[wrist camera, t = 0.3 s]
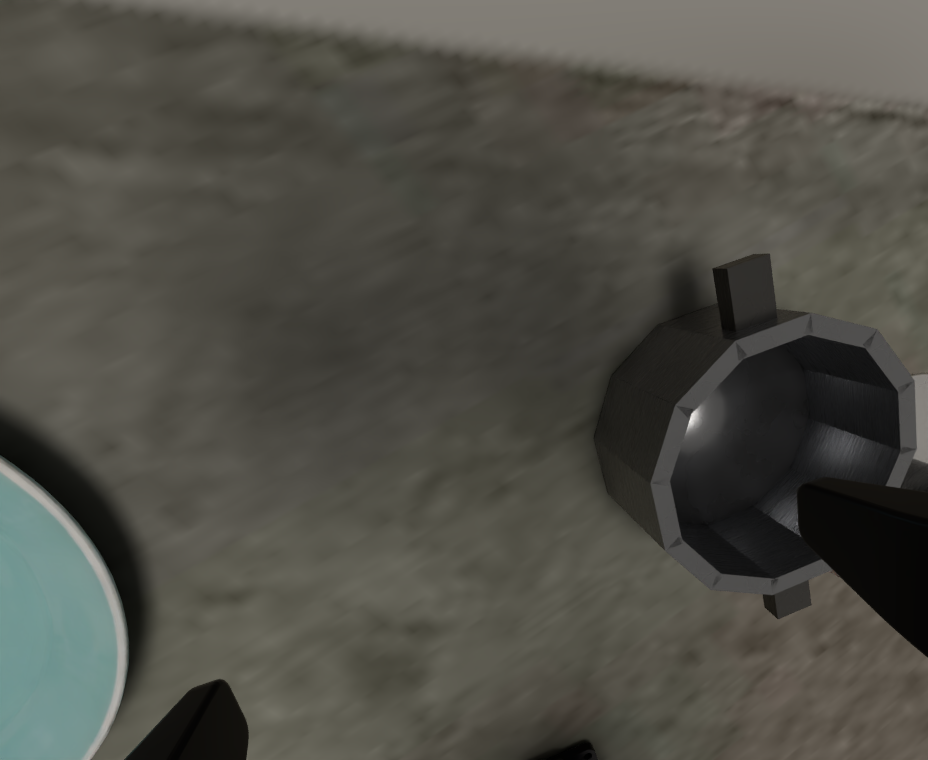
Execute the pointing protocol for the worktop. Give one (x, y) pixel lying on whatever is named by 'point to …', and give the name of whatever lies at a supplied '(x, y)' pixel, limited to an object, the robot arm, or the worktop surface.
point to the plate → (55, 629)
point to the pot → (750, 431)
